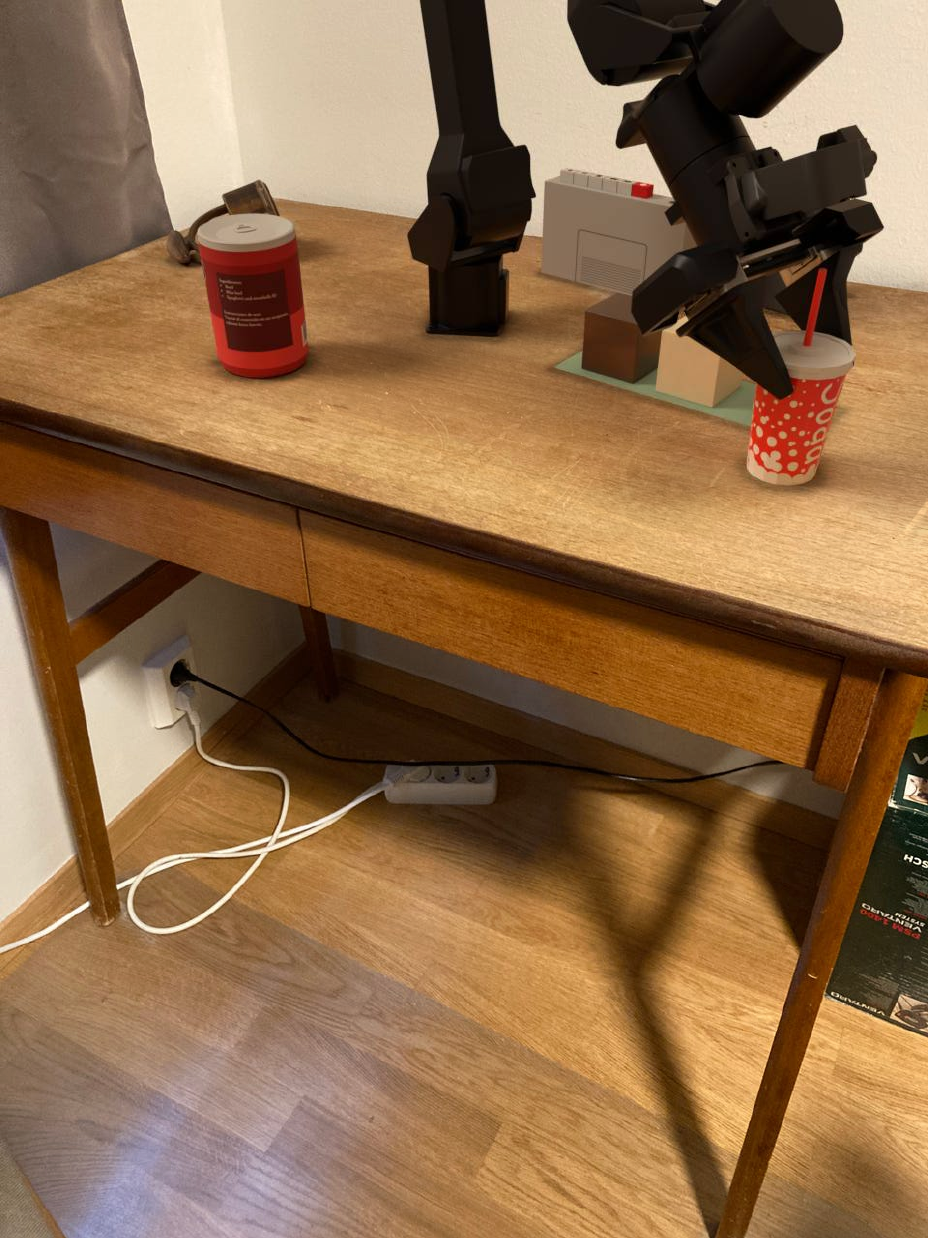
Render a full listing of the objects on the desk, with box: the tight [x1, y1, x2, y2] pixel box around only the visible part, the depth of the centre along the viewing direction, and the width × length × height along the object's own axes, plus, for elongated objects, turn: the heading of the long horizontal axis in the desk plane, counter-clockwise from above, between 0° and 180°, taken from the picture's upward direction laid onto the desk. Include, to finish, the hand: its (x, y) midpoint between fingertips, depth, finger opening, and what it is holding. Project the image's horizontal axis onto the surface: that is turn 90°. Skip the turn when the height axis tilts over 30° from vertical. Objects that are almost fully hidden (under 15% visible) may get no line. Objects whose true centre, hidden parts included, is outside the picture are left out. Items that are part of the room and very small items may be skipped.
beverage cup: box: [746, 268, 857, 486], centre depth 65 cm, size 6×6×14 cm
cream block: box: [655, 315, 744, 408], centre depth 78 cm, size 5×5×5 cm
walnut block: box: [581, 292, 663, 384], centre depth 81 cm, size 5×5×5 cm
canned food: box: [197, 214, 309, 379], centre depth 82 cm, size 8×8×11 cm
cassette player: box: [540, 167, 697, 296], centre depth 95 cm, size 16×3×10 cm, turn 50°
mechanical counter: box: [166, 179, 281, 264], centre depth 105 cm, size 7×13×10 cm
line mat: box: [553, 350, 838, 428], centre depth 80 cm, size 22×7×1 cm, turn 52°
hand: (817, 382), depth 64 cm, fingers closed on beverage cup, 6 cm apart
